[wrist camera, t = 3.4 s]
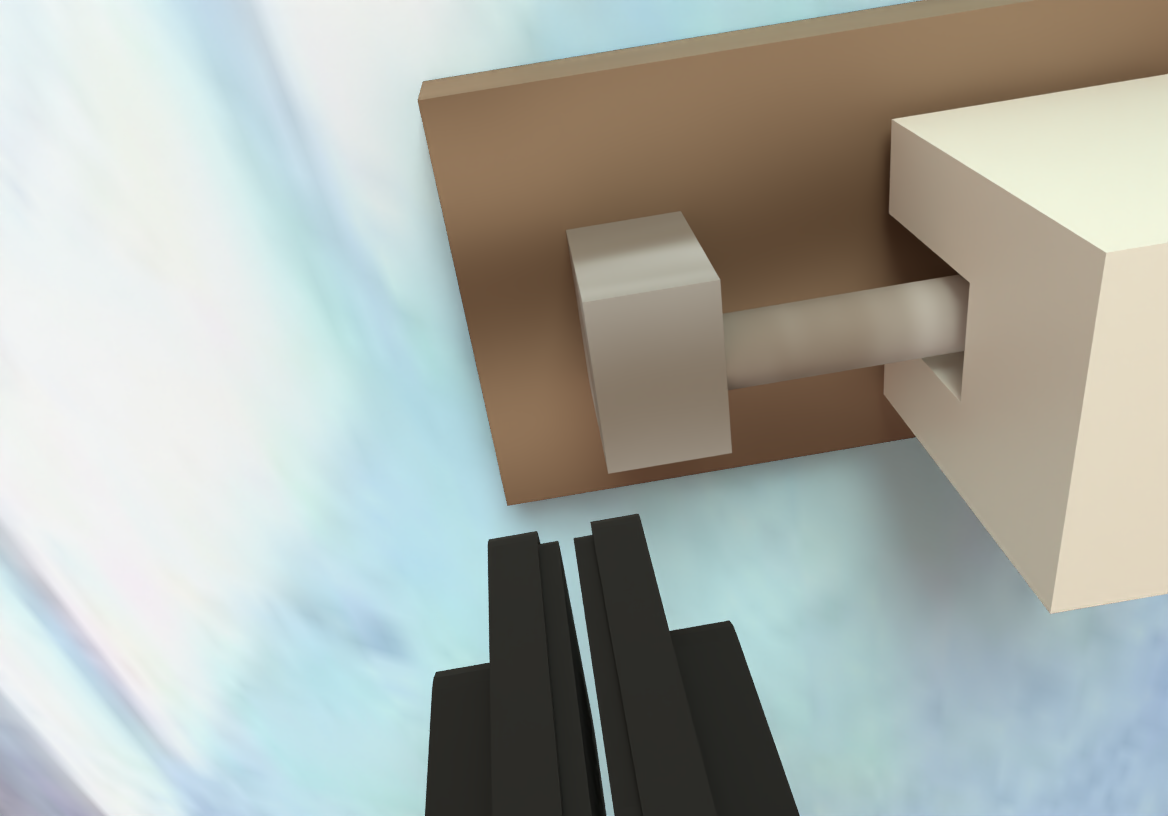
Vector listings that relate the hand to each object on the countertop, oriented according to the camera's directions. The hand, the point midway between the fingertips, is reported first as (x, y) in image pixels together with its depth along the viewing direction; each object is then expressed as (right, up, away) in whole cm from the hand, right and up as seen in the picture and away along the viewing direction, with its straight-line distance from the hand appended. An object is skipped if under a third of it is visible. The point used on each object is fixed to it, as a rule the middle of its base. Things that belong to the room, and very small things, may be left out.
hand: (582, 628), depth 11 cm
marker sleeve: (+8, +5, +6) cm, 11 cm away
